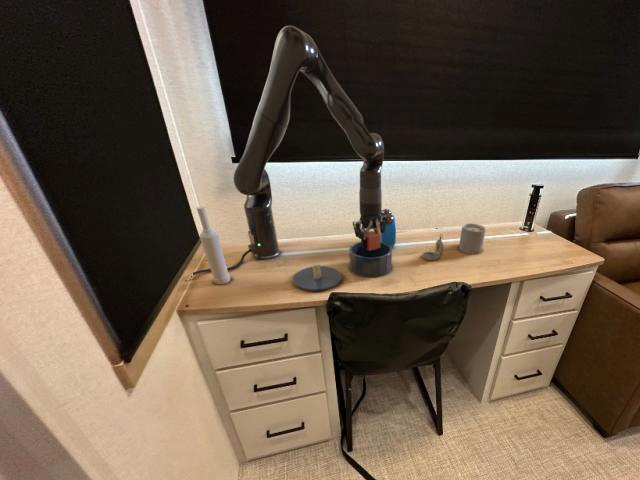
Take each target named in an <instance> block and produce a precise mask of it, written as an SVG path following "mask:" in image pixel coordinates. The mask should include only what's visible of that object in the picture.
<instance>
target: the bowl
mask: <svg viewBox="0 0 640 480" xmlns="http://www.w3.org/2000/svg"><path fill="white" fill-rule="evenodd" d="M348 254H349V257H348V258H349V268H350V270H351V272H352V273H353V274H355V275H357V276H361V277H366V278H376V277H377V278H378V277H381V276H385V275H387V274H388V273H390V272H391V270H392V261H393V260H392V259H393V248H392V246H389V245H387V244H385V243H382V242H380V248H378V249H374V250H371V251H369V250H367V249H364V248H363V247H362V246H361V241H359V242H355V243H353V244H352V245H350V246H349V248H348Z"/></svg>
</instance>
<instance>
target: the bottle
mask: <svg viewBox="0 0 640 480" xmlns="http://www.w3.org/2000/svg"><path fill="white" fill-rule="evenodd" d="M196 211H197V214H198V218H199V221H200V223H201V227H202V230H201V231H202V232H200V233H199V236H198V237H199V240H200V242H201V245H202V248H203V251H204V255H205V257H206V260H207V263H208V266H209V269H211V271H210V272H211V275H212V280H213V282H214V284H217V285H224V284H227V283H229V282H230V281H231V275H230V273H229V270H227V268H228V267H227V263H226V259H225V256H224V250H223V247H222V244H221V243H222V242H221V239H220V236H219V233H218V232H217V231H215V230H213V228H212V227H211V226H210V222H209V219H208V216H207V211H206V209H205V206H197V207H196Z"/></svg>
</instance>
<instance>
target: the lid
mask: <svg viewBox="0 0 640 480" xmlns="http://www.w3.org/2000/svg"><path fill="white" fill-rule="evenodd" d="M311 265H312V266H309V267H306V268H302V269H300V270H299V271H297V272H296V273H295V274H294V275H293V277H292V282H293V284H294V285H295V286H296V287H297V288H299V289H301V290H304V291H316V292H317V291H325V290H328V289H331V288H334V287H336V286H338V285H339V284H340V283H341V281H342V279H343V275H342V273H341V271H340V270H339V269H337V268H335V267H333V266H325V265H321V263H320V262H313V263H312V264H311Z"/></svg>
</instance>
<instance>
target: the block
mask: <svg viewBox="0 0 640 480" xmlns="http://www.w3.org/2000/svg"><path fill="white" fill-rule="evenodd" d="M366 239H367V250H369V251H371V250H374V249H378V248H380V235H379V234H377V233H375V232H374V230H370V231H369V233H368V235H367V238H366Z"/></svg>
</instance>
